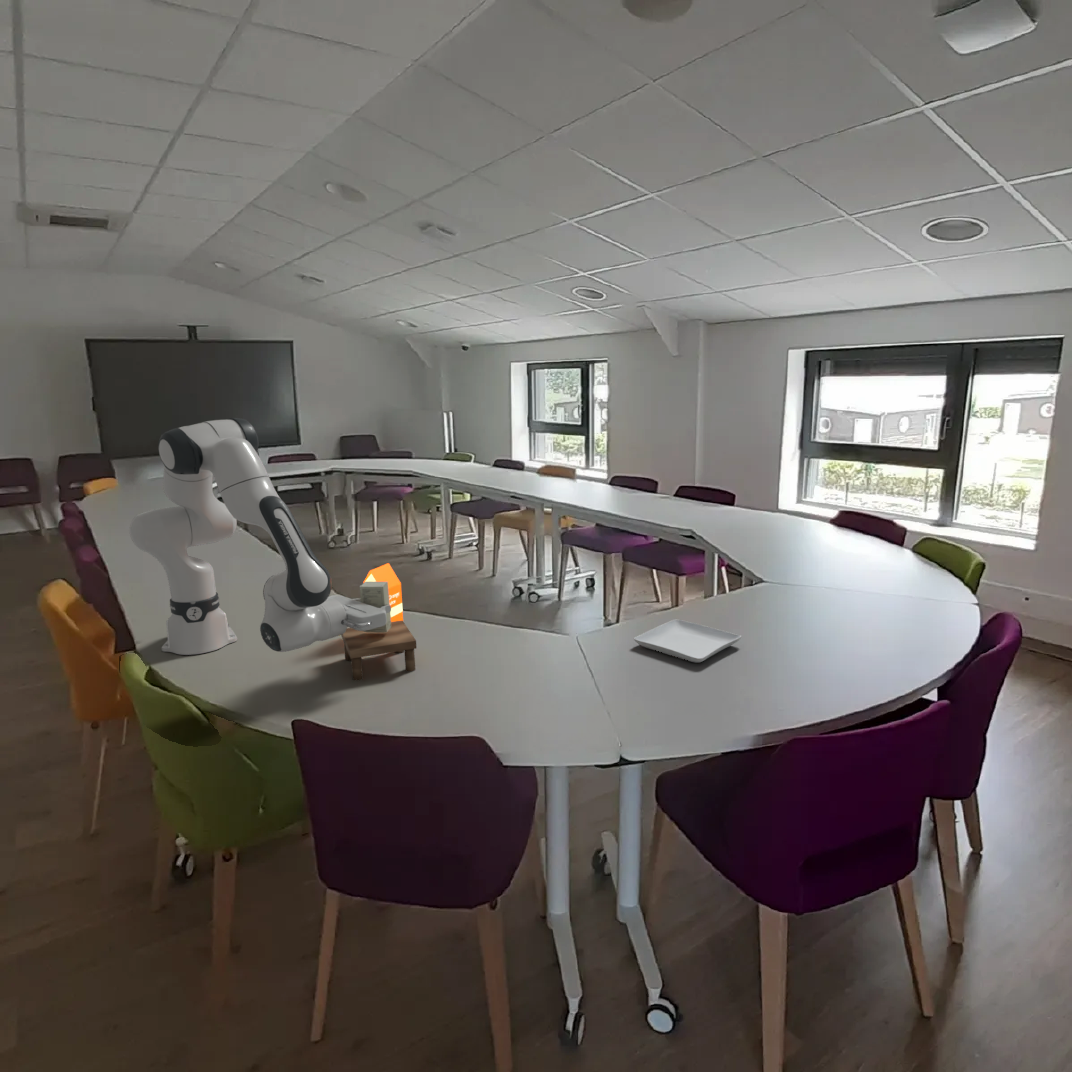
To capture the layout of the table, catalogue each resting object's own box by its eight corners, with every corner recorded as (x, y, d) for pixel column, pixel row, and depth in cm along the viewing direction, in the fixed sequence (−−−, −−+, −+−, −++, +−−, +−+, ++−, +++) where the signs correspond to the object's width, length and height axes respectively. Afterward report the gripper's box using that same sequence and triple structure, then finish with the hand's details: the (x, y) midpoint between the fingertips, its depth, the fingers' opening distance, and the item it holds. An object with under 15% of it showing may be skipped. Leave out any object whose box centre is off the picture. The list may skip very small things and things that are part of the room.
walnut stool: (343, 657, 184) (340, 629, 183) (403, 648, 190) (402, 620, 188) (352, 682, 170) (349, 650, 168) (417, 670, 176) (416, 640, 174)
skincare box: (391, 627, 180) (389, 581, 177) (386, 633, 176) (383, 586, 173) (367, 626, 180) (364, 580, 178) (362, 632, 176) (358, 586, 173)
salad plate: (631, 648, 189) (631, 636, 188) (675, 628, 204) (676, 617, 203) (700, 671, 175) (700, 658, 174) (742, 647, 189) (743, 635, 189)
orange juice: (404, 631, 203) (400, 564, 199) (385, 641, 195) (381, 572, 191) (382, 627, 206) (377, 561, 202) (362, 637, 199) (358, 569, 194)
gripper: (356, 615, 160) (404, 600, 170) (306, 597, 173) (353, 584, 183) (357, 641, 161) (405, 625, 171) (308, 621, 174) (355, 607, 184)
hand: (378, 604), depth 177 cm, fingers closed on skincare box, 7 cm apart
